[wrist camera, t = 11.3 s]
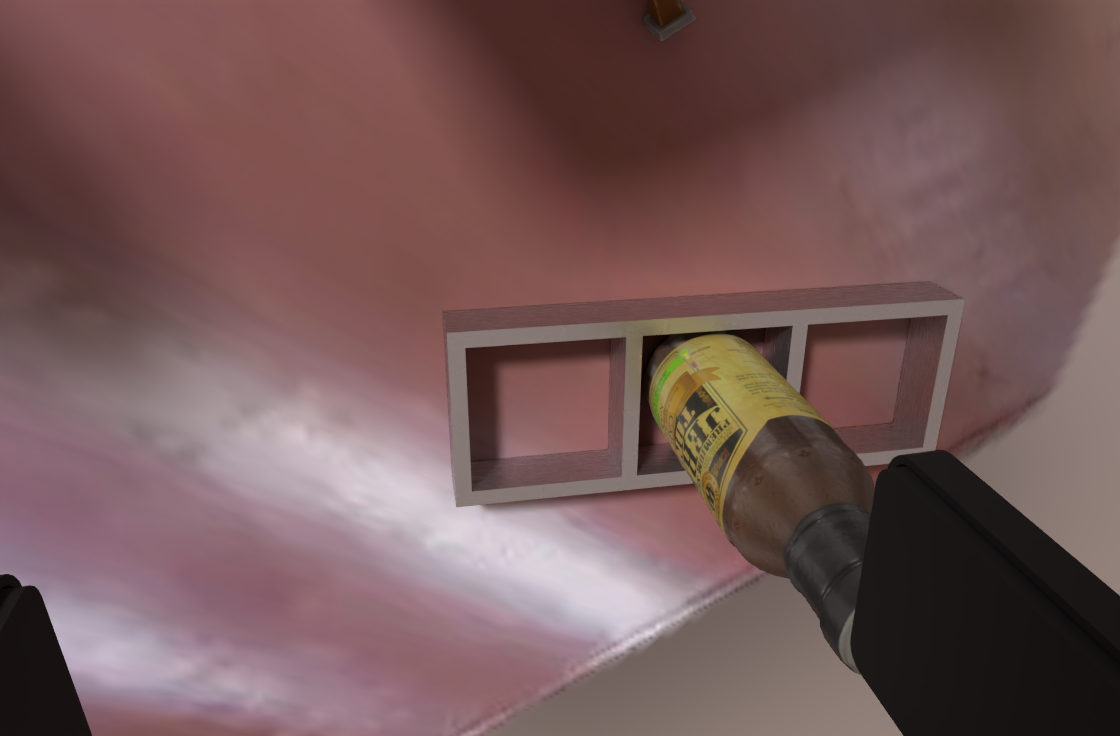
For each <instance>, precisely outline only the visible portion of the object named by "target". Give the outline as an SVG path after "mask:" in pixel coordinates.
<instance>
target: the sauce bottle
mask: <svg viewBox="0 0 1120 736" xmlns="http://www.w3.org/2000/svg"><path fill="white" fill-rule="evenodd" d="M643 388H644V393H645V396H646V398H647V401H648V403H649V405H650V408H651V412H652V415H653V417H654V419H655V421H656V423H657V425H658V426H659V428H660V430H661V431H662V433H663V434H664V436H665V438H666V439H667V441H668V442H669V444H670V446H671V447H672V449H673V451H674V452H675V454H676V455H677V457H678V459H679V460H680V462H681V464H682V466H683V468H684V469H685V470H686V472H687V474H688V475H689V477H690V478H691V480H692V482H693V484H694V485H695V487H696V488H697V490H698V492H699V494H700V495H701V497H702V498H703V500H704V501H705V503H706V505H707V506H708V508H709V510H710V511H711V513H712V514H713V516H714V518H715V519H716V521H717V523H718V524H719V526H720V527H721V529H722V531H723V532H724V534H725V536H726V537H727V539H728V540H729V542H730V543H731V544H732V545H733V546H734V547H736V548H737V550H738V551H739V552H740V553H741V555H742V556H743V557H744V558H745V559H746V560H747V561H748V562H749V563H751V564H752V565H754V566H756V567H757V568H759V569H760V570H763V571H765V572H767V573H770V574H773V575H776V576H780V577H784V578H788V579H790V581H791V583H792V584H793V585H794V587H795V588H796V589H797V590H798V591H799V592H800V593H802V595H803V596H804V597H805V598H806V600H807V601H808V603H809V604H810V606H811V607H812V609H813V610H814V612H815V613H816V614H817V617H818V618H819V619H820V627H821V629H822V632H823V635H824V637H825V639H826V640H827V642H828V643H829V645H830V647H831V648H832V649H833V651H834V652H835V653H836V655H837V656H838V657H839V659H840V660H841V661H842V662H843V663H844V664H845V665H846V666H847V667H848V668H850V669H851V670H852V671H853V672H855V673H858V674H860V672H859V670H858V669H857V667H856V665H855V662H854V660H853V657H852V653H851V647H850V637H851V631H852V625H853V619H854V613H855V607H856V601H857V595H858V589H859V583H860V577H861V571H862V565H863V559H864V553H865V547H866V541H867V535H868V528H869V522H870V516H871V510H872V504H873V498H874V492H875V488H874V485H873V481H872V478H871V475H870V474H869V473H868V471H867V468H866V467H865V465H864V464H863V462H862V460H861V459H860V458H859V457H858V456H857V455H856V453H854V452H853V451H852V450H851V449H850V448H849V447H848V446H847V445H846V444H845V443H844V442H843V440H842V439H841V437H840V435H839V434H838V433H837V431H836V430H835V429H834V428H833V427H832V426H831V425H830V424H829V423H828V422H827V421H826V420H825V419H824V418H823V417H822V416H821V415H820V414H819V413H818V412H817V411H816V410H815V409H814V408H813V407H812V406H811V405H810V404H809V403H808V402H807V401H806V400H805V399H804V398H803V397H802V396H801V395H800V394H799V393H798V392H797V391H796V390H795V389H794V388H793V387H792V386H791V385H790V384H789V383H788V382H787V381H786V380H785V379H784V378H783V377H782V376H781V375H780V373H779V372H778V371H777V370H776V369H775V368H774V367H773V366H772V365H771V364H770V363H769V362H768V361H767V360H766V359H765V358H764V357H763V356H762V355H761V354H760V353H759V352H758V351H757V350H756V349H755V348H754V347H753V346H752V345H751V344H749V343H748V342H747V341H745V340H743V339H741V338H740V336H739V335H738V334H737V333H735V332H734V331H733V330H722V331H708V332H693V333H679V334H671V335H669V336H668V338H667V339H666V340H665V341H664V342H662V343H661V344H660V345H659V346H658V347H657V348H656V349H655V351H654V353H653V355H652V357H651V359H650V362H649V364H648V367H647V370H646V373H645V376H644V380H643Z"/></svg>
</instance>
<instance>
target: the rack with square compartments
mask: <svg viewBox="0 0 1120 736" xmlns="http://www.w3.org/2000/svg"><path fill="white" fill-rule="evenodd" d="M964 303H965V299H964V298H962V297H960V296H958V295H956V294H954V293H952V292H950V291H948V290H946V289H944V288H942V287H940V286H938V285H937V284H935V283H933V282H915V283H899V284H882V285H866V286H850V287H833V288H817V289H800V290H784V291H767V292H751V293H734V294H718V295H702V296H685V297H669V298H652V299H636V300H619V301H603V302H586V303H570V304H554V305H537V306H521V307H504V308H488V309H471V310H455V311H443V327H444V345H445V362H446V380H447V398H448V415H449V433H450V451H451V468H452V480H453V487H454V494H455V501H456V507H463V506H473V505H483V504H493V503H503V502H513V501H523V500H533V499H543V498H553V497H563V496H573V495H582V494H592V493H602V492H612V491H622V490H632V489H642V488H652V487H662V486H672V485H682V484H692V483H693V482H692V480H691V478H690V477H689V475H688V474H687V472H686V470H685V469H684V468H683V466H682V464H681V462H680V460H679V459H678V457H677V455H676V454H675V452H674V451H673V449H672V447H671V446H670V444H658V445H647V446H638V439H639V415H640V391H641V367H642V343H643V336H649V335H664V334H679V333H693V332H708V331H722V330H737V329H752V328H766V329H765V339H764V349H763V357H764V358H765V359H766V360H767V361H768V362H769V363H770V364H771V365H772V366H773V367H774V368H775V369H776V370H777V371H778V372H779V373H780V375H781V376H782V377H783V378H784V379H785V380H786V381H787V382H788V383H789V384H790V385H791V386H792V387H793V388H794V389H795V390H796V391H797V392H798V393H799V394H800V386H801V378H802V370H803V362H804V354H805V346H806V337H807V329H808V325H810V324H824V323H839V322H854V321H868V320H883V319H897V318H911V321H910V327H909V332H908V338H907V344H906V350H905V356H904V361H903V367H902V373H901V379H900V385H899V390H898V396H897V402H896V408H895V413H894V419H893V423H887V424H876V425H865V426H854V427H843V428H834V429H835V430H836V431H837V433H838V434H839V435H840V437H841V439H842V440H843V442H844V443H845V444H846V445H847V446H848V447H849V448H850V449H851V450H852V451H853V452H854V453H856V455H857V456H858V457H859V458H860V459H861V460H862V462H863V464H864V465H865V466H871V465H881V464H889V463H890V462H891V460H892V459H893V458H894V457H896V456H898V455H904V454H911V453H919V452H926V451H934V450H936V445H937V440H938V435H939V430H940V425H941V419H942V414H943V409H944V404H945V399H946V394H947V389H948V384H949V379H950V374H951V369H952V364H953V359H954V354H955V349H956V343H957V338H958V333H959V328H960V323H961V318H962V313H963V308H964ZM606 338H611V340H610V379H609V418H608V449H603V450H592V451H581V452H570V453H559V454H548V455H538V456H527V457H516V458H505V459H494V460H483V461H472V462H470V440H469V419H468V397H467V376H466V354H465V348H474V347H489V346H503V345H518V344H533V343H547V342H562V341H576V340H591V339H606Z"/></svg>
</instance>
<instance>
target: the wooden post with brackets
mask: <svg viewBox="0 0 1120 736" xmlns="http://www.w3.org/2000/svg"><path fill="white" fill-rule="evenodd" d="M647 1H648V6H649V14H648V15H646V16H645V17H643V20H644V23H645V27H646V28H647V29H648V30H649V31H650V32H652V33H653V34H654V35H655V36H656V37H657V38H658V39H659V40H660V41H661V42H662V41H663V40H665V39H666V38H668V37H670V36H671V35H673V34H674V33H676V32H677V31H679V30H680V29H682V28H683V27H685V26H686V25H688V24H689V23H691V22H693V21H694V20H696V19H697V18H696V17H695V16H694V14H693V11H692V10H691V9H690V8H689V7H687V6H686V5H685V4H684V3H683V2H681V1H680V0H647Z"/></svg>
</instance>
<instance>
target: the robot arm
mask: <svg viewBox="0 0 1120 736" xmlns="http://www.w3.org/2000/svg"><path fill="white" fill-rule="evenodd" d="M850 647H851V653H852V657H853V660H854V662H855V665H856V667H857V669H858V670H859V672H860V674H861V675H862V676H863V678H864V679H865V681H866V682H867V683H868V685H869V687H870V688H871V689H872V691H873V692H874V694H875V695H876V697H877V698H878V700H879V701H880V702H881V704H882V705H883V707H884V708H885V710H886V711H887V712H888V714H889V715H890V717H891V718H892V720H893V721H894V723H895V724H896V725H897V727H898V728H899V730H900V731H901V732H902V734H903V736H1120V596H1119V595H1118V594H1117V593H1116V592H1114V591H1113V590H1112V589H1111V588H1110V587H1108V586H1107V585H1106V584H1105V583H1104V582H1103V581H1101V580H1100V579H1099V578H1098V577H1097V576H1096V575H1094V574H1093V573H1092V572H1091V571H1090V570H1088V569H1087V568H1086V567H1085V566H1084V565H1082V564H1081V563H1080V562H1079V561H1078V560H1077V559H1075V558H1074V557H1073V556H1072V555H1071V554H1069V553H1068V552H1067V551H1066V550H1065V549H1063V548H1062V547H1061V546H1060V545H1059V544H1058V543H1056V542H1055V541H1054V540H1053V539H1052V538H1050V537H1049V536H1048V535H1047V534H1046V533H1044V532H1043V531H1042V530H1041V529H1039V527H1037V526H1036V525H1035V524H1034V523H1032V522H1031V521H1030V520H1029V519H1028V518H1026V517H1025V516H1024V515H1023V514H1022V513H1021V512H1020V511H1018V510H1017V509H1016V508H1015V507H1013V506H1012V505H1011V504H1010V503H1009V502H1008V501H1006V500H1005V499H1004V498H1003V497H1002V496H1000V495H999V494H998V493H997V492H996V491H995V490H993V489H992V488H991V487H990V486H989V485H987V484H986V483H985V482H984V481H983V480H981V479H980V478H979V477H978V476H977V475H975V474H974V473H973V472H972V471H971V470H969V469H968V468H967V467H966V466H965V465H964V464H962V463H961V462H960V461H959V460H958V459H957V458H955V457H954V456H953V455H952V454H950V453H948V452H947V451H944V450H934V451H926V452H919V453H911V454H904V455H898V456H896V457H894V458H893V459H892V460H891V462H890V463H889V466H888V469H884V470H882V471H881V472H880V473H879V475H878V477H877V481H876V486H875V492H874V498H873V504H872V510H871V516H870V522H869V528H868V535H867V541H866V547H865V553H864V559H863V565H862V571H861V577H860V583H859V589H858V595H857V601H856V607H855V613H854V619H853V625H852V631H851V637H850ZM0 736H92V734H91V731H90V728H89V725H88V723H87V720H86V717H85V714H84V712H83V709H82V706H81V703H80V701H79V698H78V695H77V692H76V690H75V687H74V684H73V681H72V678H71V676H70V673H69V670H68V667H67V665H66V662H65V659H64V656H63V654H62V651H61V648H60V645H59V643H58V640H57V637H56V634H55V632H54V629H53V626H52V623H51V620H50V618H49V615H48V612H47V609H46V607H45V604H44V601H43V598H42V596H41V594H40V592H39V590H38V589H37V588H36V587H35V586H23V587H22V586H21V584H20V582H19V580H18V579H17V578H16V577H15V576H13V575H9V574H4V575H0Z"/></svg>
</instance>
